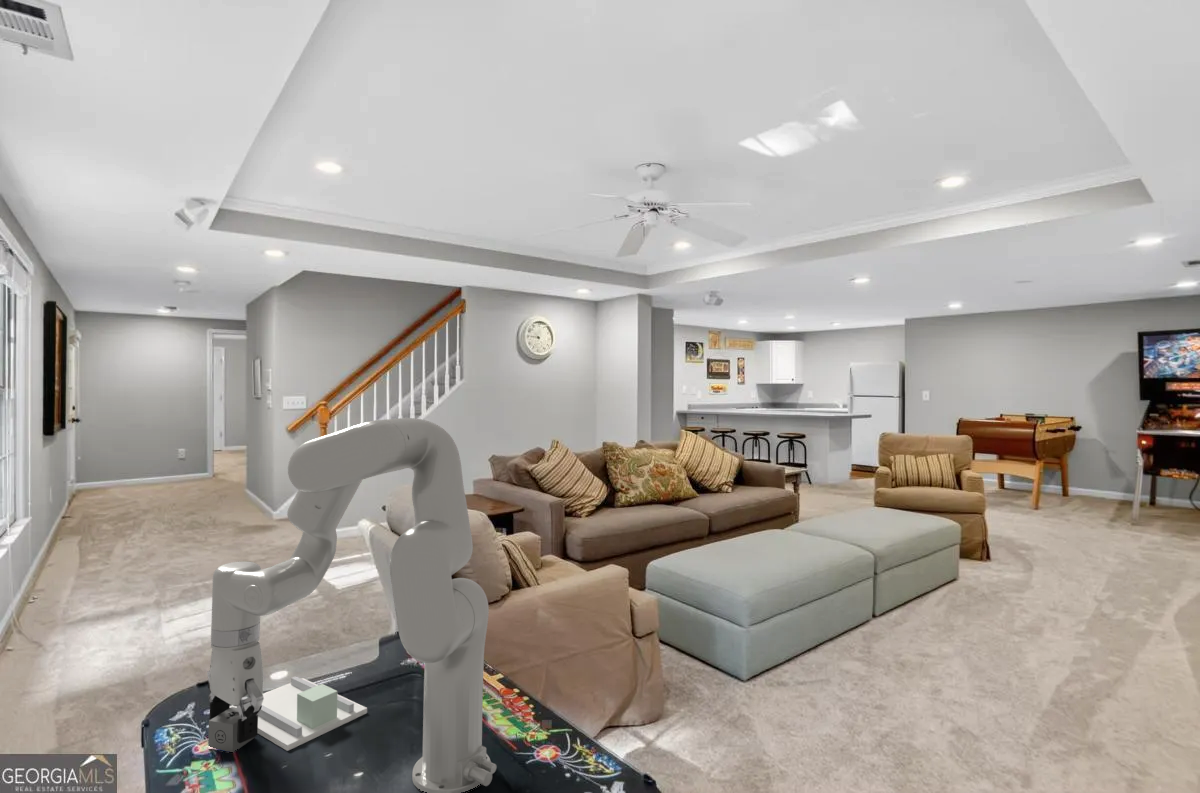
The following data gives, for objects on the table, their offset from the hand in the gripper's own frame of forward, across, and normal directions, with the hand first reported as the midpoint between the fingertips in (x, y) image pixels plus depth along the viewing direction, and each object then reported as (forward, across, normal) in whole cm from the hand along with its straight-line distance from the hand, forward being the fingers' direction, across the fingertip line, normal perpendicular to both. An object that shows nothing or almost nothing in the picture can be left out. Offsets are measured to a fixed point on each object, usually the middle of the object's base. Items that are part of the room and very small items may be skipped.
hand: (233, 730), depth 110 cm
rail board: (+2, +1, -12) cm, 12 cm away
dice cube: (+2, 0, 0) cm, 3 cm away
